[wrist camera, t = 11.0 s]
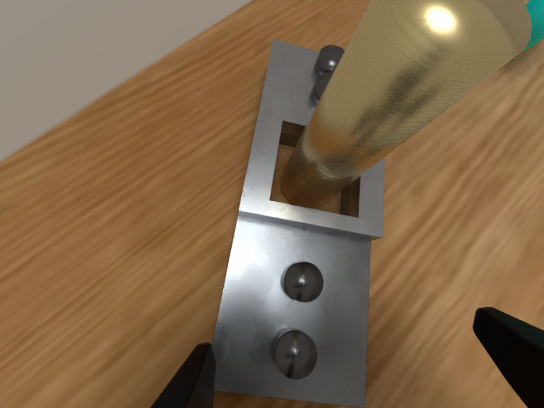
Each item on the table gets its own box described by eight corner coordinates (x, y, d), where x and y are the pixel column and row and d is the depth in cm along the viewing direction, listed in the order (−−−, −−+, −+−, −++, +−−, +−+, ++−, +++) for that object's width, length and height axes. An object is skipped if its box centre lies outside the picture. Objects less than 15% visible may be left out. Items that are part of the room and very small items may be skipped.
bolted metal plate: (353, 396, 16) (390, 432, 12) (205, 379, 15) (197, 413, 11) (367, 94, 23) (393, 59, 20) (267, 69, 22) (275, 27, 19)
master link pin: (327, 215, 19) (540, 81, 6) (275, 201, 19) (383, 28, 6) (334, 167, 21) (522, -28, 8) (285, 153, 20) (393, -78, 7)
